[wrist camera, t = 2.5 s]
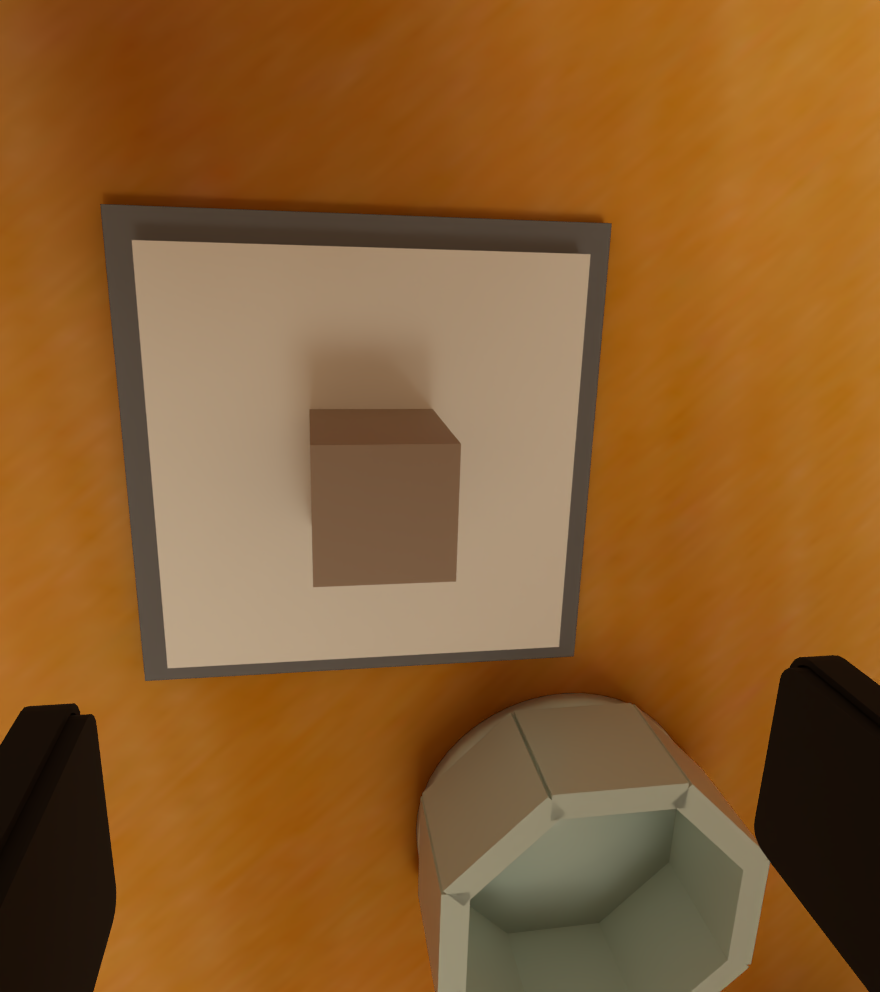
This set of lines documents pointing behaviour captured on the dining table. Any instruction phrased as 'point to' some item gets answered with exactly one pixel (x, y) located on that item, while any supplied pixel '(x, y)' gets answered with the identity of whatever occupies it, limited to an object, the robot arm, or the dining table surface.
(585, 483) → the mat
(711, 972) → the bowl
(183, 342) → the lid
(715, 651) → the dining table surface
